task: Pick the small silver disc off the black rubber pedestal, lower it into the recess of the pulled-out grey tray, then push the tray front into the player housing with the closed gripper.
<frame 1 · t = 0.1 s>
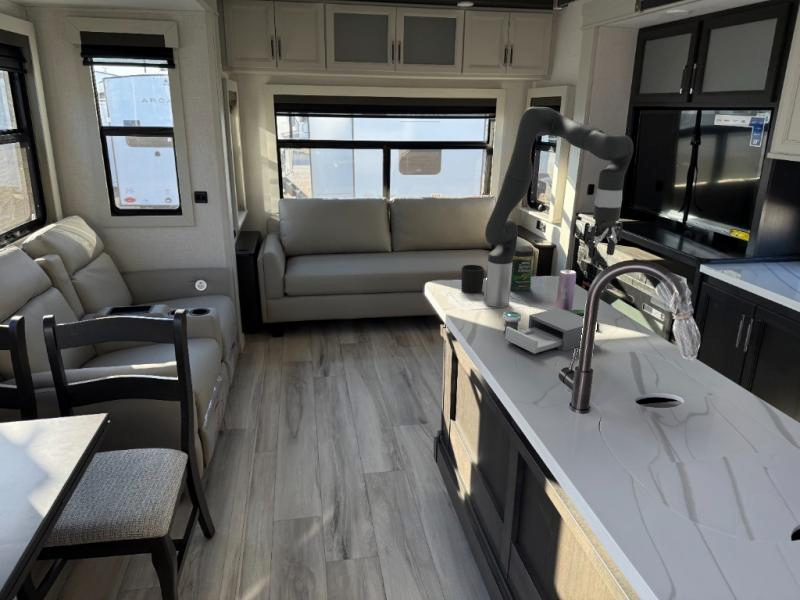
hand: (600, 256, 173), 29 cm above the table, fingers open, 8 cm apart
coffee jar: (518, 289, 237), on the table
housing: (560, 338, 186), on the table
beverage can: (563, 310, 213), on the table
disc: (511, 319, 189), point 5 cm above the table, touching pedestal
pen holder: (471, 291, 234), on the table
tray: (534, 335, 179), point 3 cm above the table, slide at 11.0 cm
pedestal: (510, 332, 190), on the table
disk drive: (578, 324, 201), on the table
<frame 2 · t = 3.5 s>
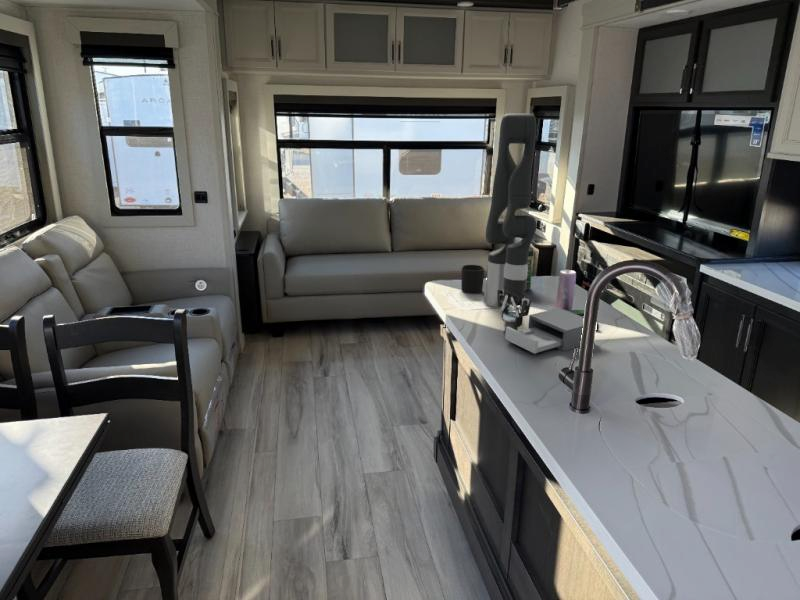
hand: (511, 323, 189), 3 cm above the table, fingers closed on disc, 6 cm apart
disc: (511, 319, 189), point 5 cm above the table, touching gripper, pedestal
everything else where it was.
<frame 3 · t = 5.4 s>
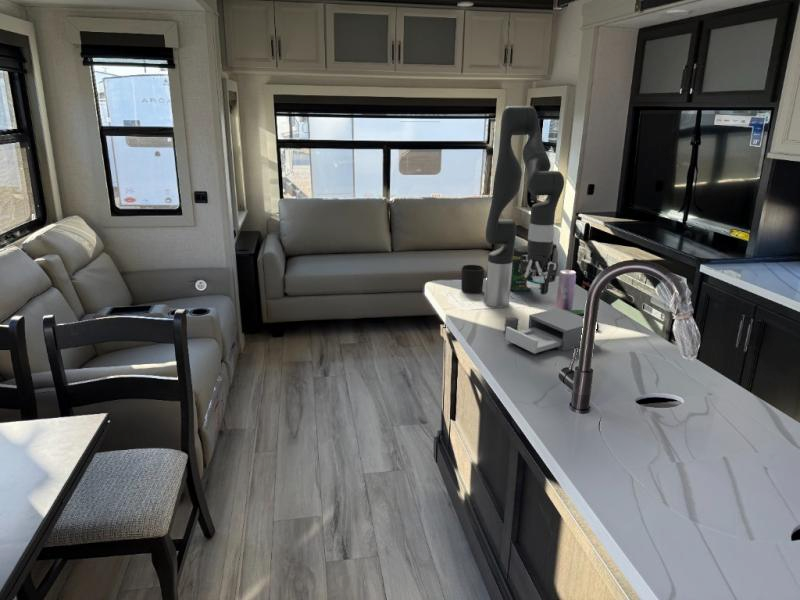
hand: (536, 291, 174), 18 cm above the table, fingers closed on disc, 6 cm apart
disc: (536, 286, 174), point 20 cm above the table, touching gripper
everything else where it was.
when the fingers open (3 cm above the table, at t = 7.8 s): disc drops 2 cm, resting on tray.
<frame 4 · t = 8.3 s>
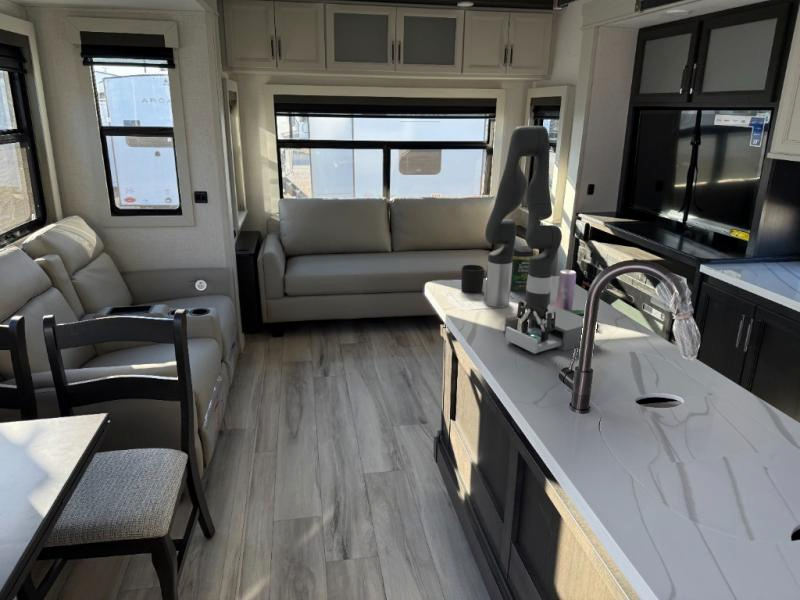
hand: (533, 337, 179), 3 cm above the table, fingers open, 8 cm apart
disc: (533, 340, 179), point 2 cm above the table, touching tray
tray: (534, 335, 179), point 3 cm above the table, slide at 11.0 cm, touching disc
everything else where it was.
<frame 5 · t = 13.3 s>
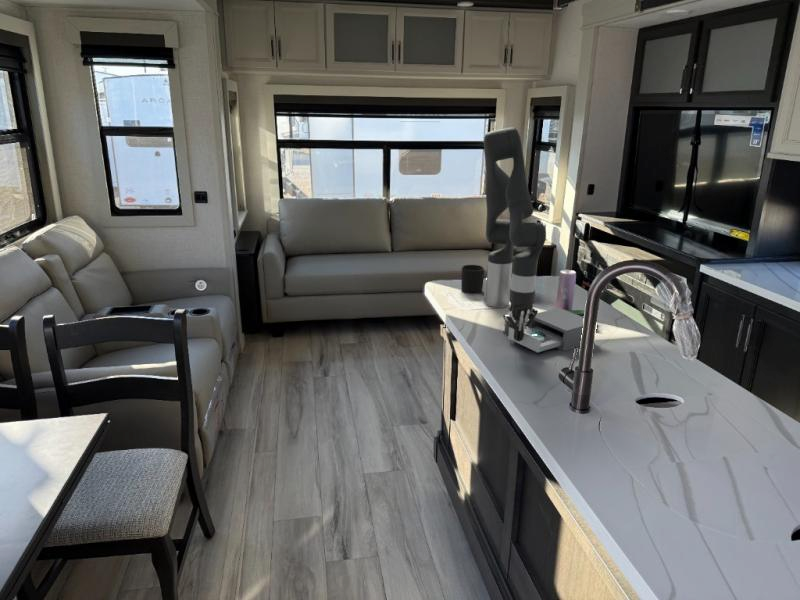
hand: (518, 340, 176), 3 cm above the table, fingers closed
disc: (536, 339, 180), point 2 cm above the table, touching tray
tray: (537, 335, 180), point 3 cm above the table, slide at 9.6 cm, touching disc, gripper
everything else where it was.
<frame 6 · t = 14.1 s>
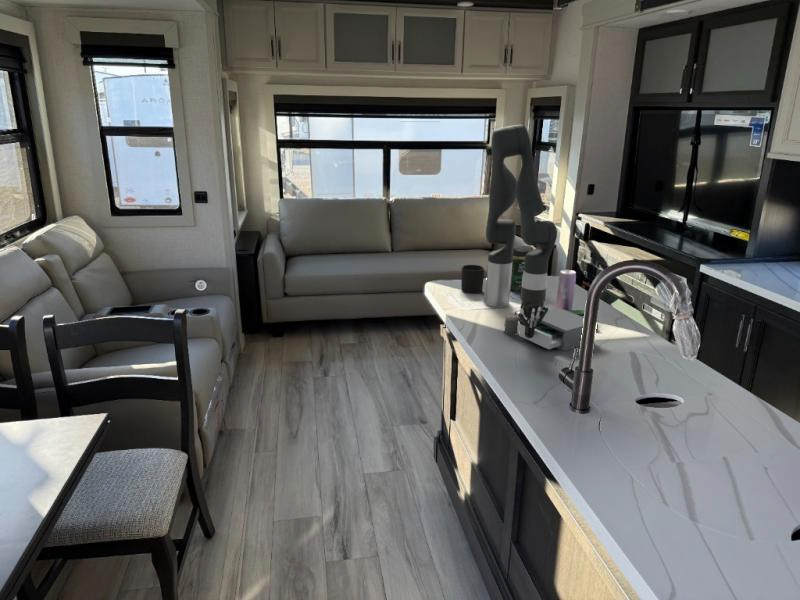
hand: (529, 337, 178), 3 cm above the table, fingers closed
disc: (546, 336, 182), point 2 cm above the table, touching tray
tray: (548, 332, 182), point 3 cm above the table, slide at 4.9 cm, touching disc, gripper
everything else where it was.
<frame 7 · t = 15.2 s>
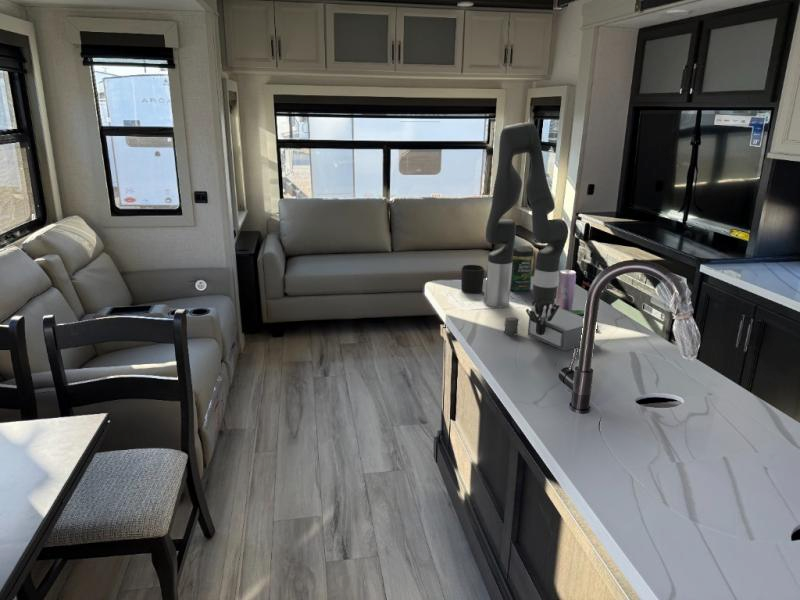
hand: (540, 334, 181), 3 cm above the table, fingers closed
disc: (557, 333, 185), point 2 cm above the table, touching tray
tray: (558, 329, 185), point 3 cm above the table, slide at 0.1 cm, touching disc
everything else where it was.
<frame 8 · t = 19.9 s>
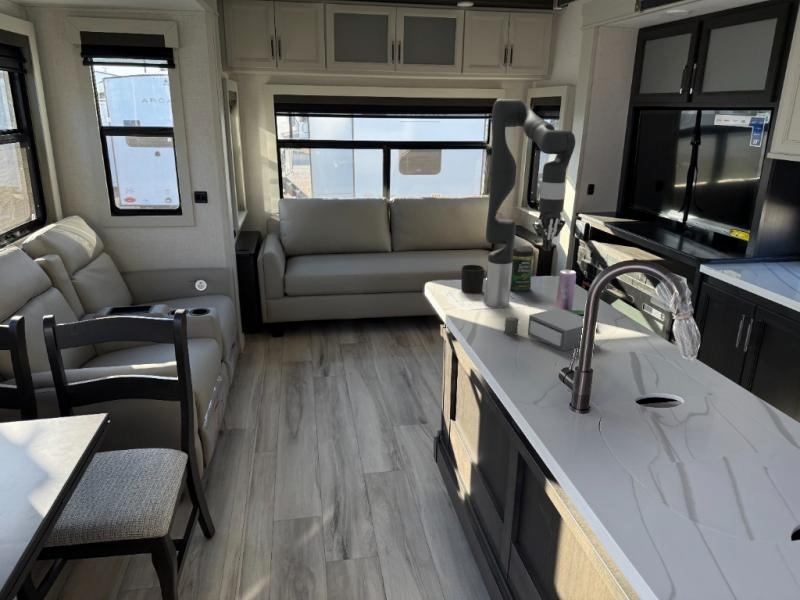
hand: (546, 250, 181), 29 cm above the table, fingers closed
nothing on the table moved.
at the end: tray slide at 0.1 cm; disc inside the target area on the housing (1.1 cm from its centre), point 2.1 cm above the housing's base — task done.
